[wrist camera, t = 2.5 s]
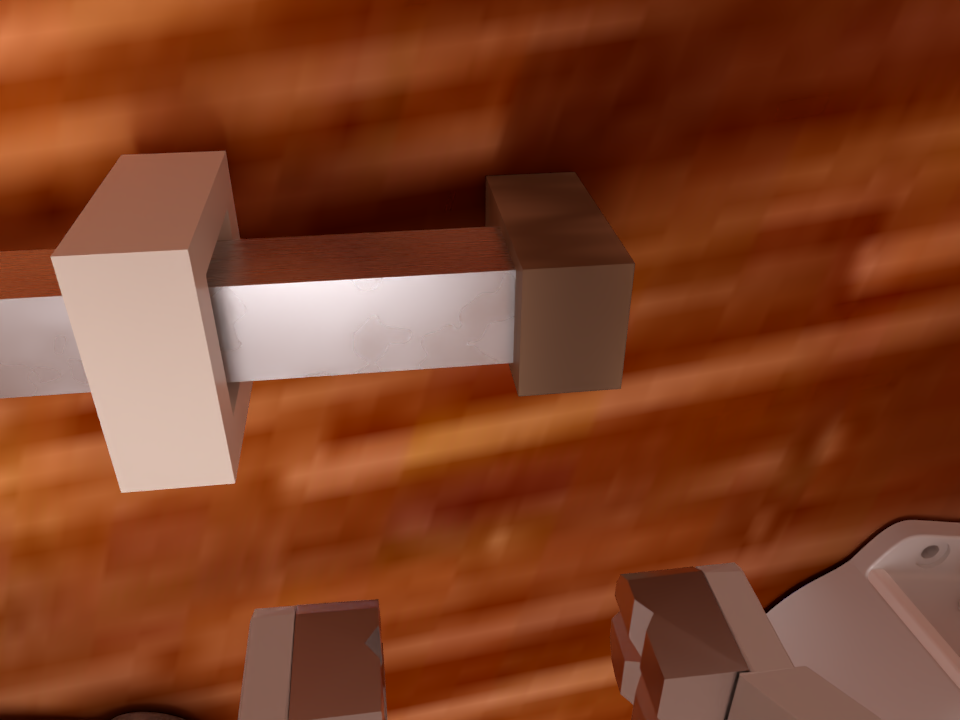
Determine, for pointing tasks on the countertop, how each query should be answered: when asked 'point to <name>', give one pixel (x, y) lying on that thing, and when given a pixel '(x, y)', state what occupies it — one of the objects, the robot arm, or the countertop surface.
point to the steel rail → (298, 308)
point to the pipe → (146, 716)
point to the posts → (562, 283)
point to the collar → (156, 319)
